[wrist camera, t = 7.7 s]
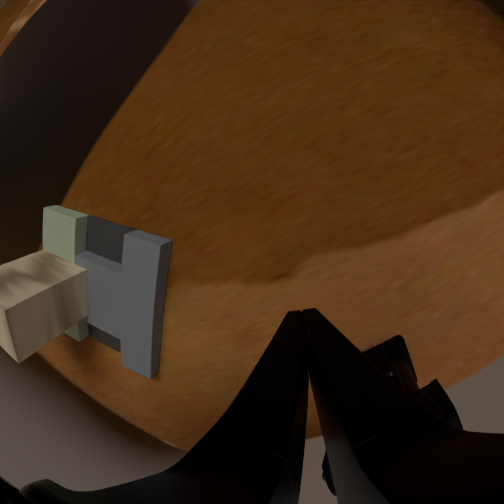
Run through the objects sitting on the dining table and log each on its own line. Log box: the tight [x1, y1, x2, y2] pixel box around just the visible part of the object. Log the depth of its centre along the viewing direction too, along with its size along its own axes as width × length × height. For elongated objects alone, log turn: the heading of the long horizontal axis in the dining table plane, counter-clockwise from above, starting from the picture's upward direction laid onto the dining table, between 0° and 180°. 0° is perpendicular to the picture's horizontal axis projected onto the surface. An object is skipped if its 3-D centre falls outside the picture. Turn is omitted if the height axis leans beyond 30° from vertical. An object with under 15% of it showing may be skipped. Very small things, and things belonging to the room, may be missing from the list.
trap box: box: [43, 205, 172, 379], centre depth 24 cm, size 15×14×2 cm
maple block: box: [0, 249, 88, 363], centre depth 18 cm, size 7×5×10 cm
